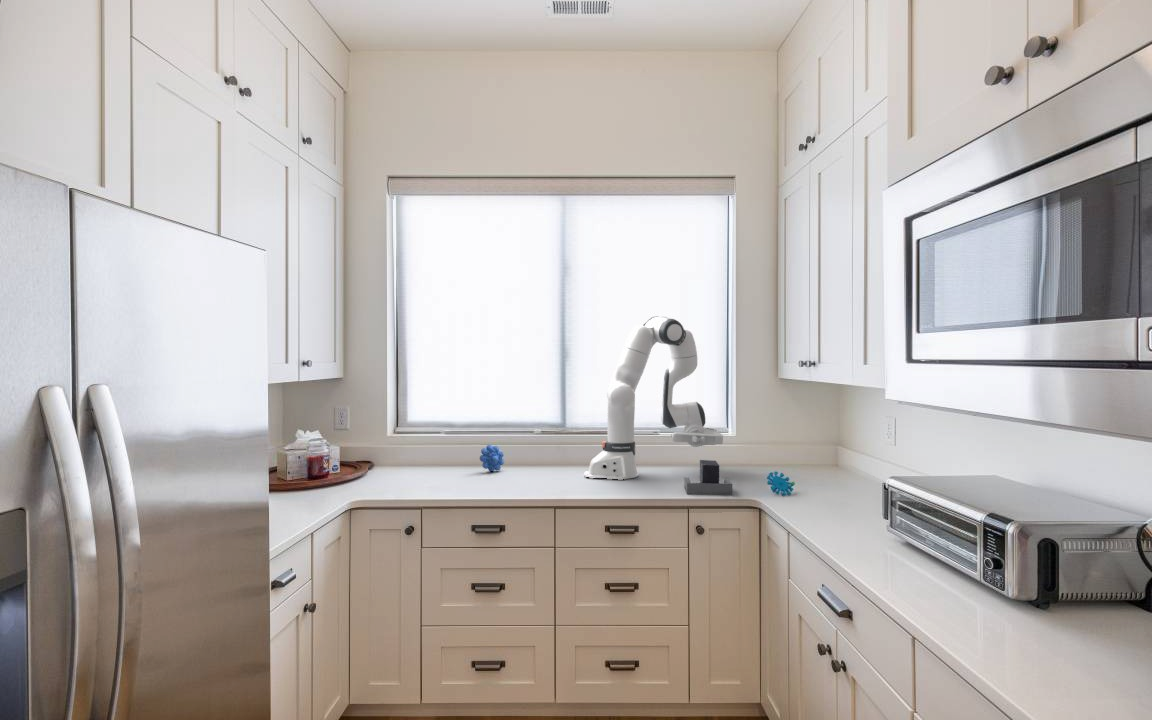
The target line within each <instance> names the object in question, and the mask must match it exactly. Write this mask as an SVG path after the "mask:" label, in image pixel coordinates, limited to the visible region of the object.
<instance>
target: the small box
mask: <svg viewBox="0 0 1152 720" xmlns="http://www.w3.org/2000/svg"><path fill="white" fill-rule="evenodd" d="M699 483H720V465H719V463H718V462H717V460H709V459H708V460H707V459H700V460H699Z"/></svg>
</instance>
